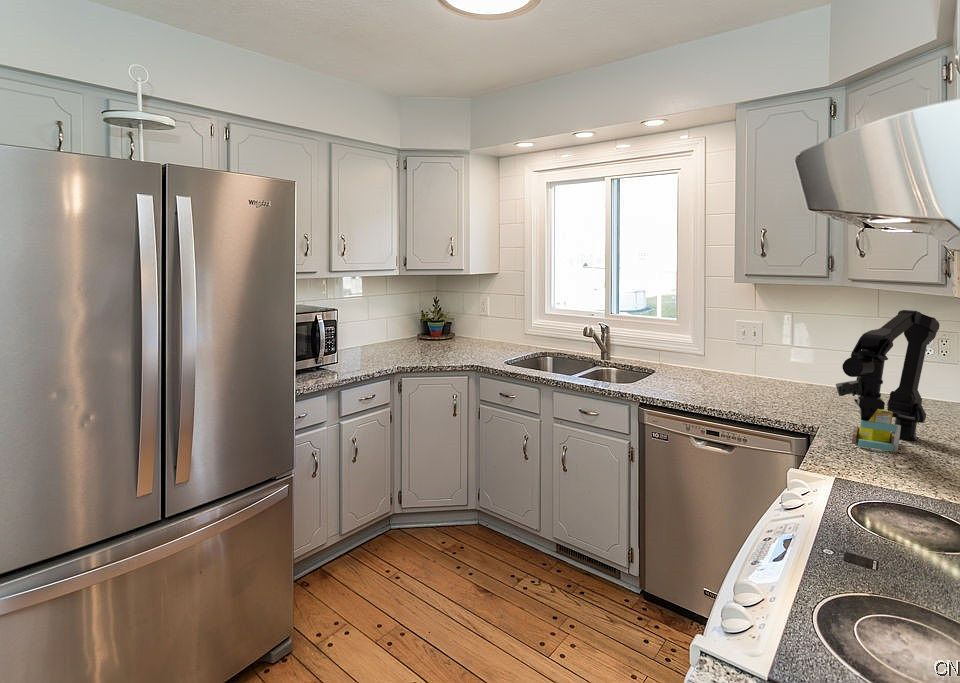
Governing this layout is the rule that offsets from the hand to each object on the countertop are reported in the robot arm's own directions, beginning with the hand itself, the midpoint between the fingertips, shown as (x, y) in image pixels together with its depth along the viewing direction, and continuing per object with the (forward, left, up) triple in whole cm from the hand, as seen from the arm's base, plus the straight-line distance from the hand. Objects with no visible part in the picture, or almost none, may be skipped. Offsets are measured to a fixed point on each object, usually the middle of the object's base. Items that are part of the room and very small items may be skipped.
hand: (863, 424), depth 173 cm
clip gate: (+1, +4, -7) cm, 8 cm away
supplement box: (-6, +3, -7) cm, 10 cm away
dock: (-6, +3, -7) cm, 10 cm away
